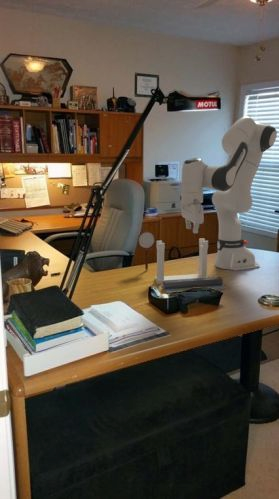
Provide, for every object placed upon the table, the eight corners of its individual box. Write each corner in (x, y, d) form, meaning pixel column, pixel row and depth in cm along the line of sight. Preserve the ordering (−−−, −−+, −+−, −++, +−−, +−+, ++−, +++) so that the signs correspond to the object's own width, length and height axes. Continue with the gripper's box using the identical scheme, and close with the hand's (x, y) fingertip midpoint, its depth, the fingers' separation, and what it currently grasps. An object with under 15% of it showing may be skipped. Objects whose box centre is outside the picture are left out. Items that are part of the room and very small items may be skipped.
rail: (220, 283, 179) (220, 276, 178) (222, 285, 176) (222, 278, 175) (162, 287, 175) (162, 280, 174) (164, 289, 172) (164, 282, 171)
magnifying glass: (154, 269, 202) (154, 230, 198) (155, 270, 201) (155, 231, 196) (137, 271, 201) (137, 231, 196) (138, 271, 199) (138, 232, 194)
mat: (217, 282, 182) (217, 280, 182) (225, 289, 173) (225, 288, 173) (161, 285, 178) (161, 284, 178) (166, 293, 168) (166, 292, 168)
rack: (204, 276, 190) (205, 238, 186) (208, 280, 185) (210, 241, 180) (154, 279, 186) (154, 240, 182) (157, 283, 181) (157, 243, 176)
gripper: (208, 201, 159) (207, 235, 162) (192, 195, 178) (191, 226, 182) (192, 201, 158) (192, 236, 161) (178, 196, 177) (178, 226, 181)
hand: (192, 230), depth 172 cm, fingers open, 8 cm apart
